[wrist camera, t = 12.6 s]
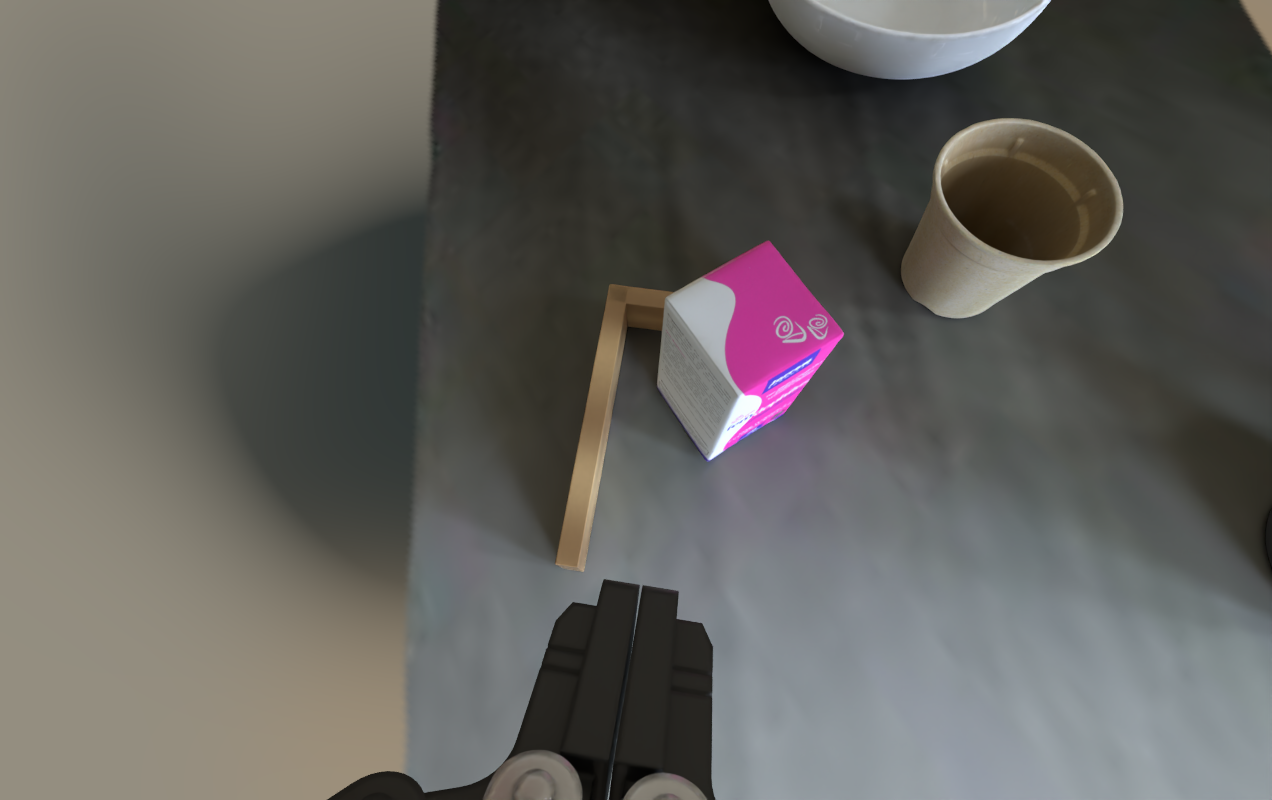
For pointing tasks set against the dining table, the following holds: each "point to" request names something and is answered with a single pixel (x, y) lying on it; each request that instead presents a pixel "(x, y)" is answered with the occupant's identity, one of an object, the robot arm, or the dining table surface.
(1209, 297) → the dining table surface
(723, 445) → the supplement box
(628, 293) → the corner fence
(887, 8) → the serving bowl
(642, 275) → the dining table surface
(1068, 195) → the flower pot
